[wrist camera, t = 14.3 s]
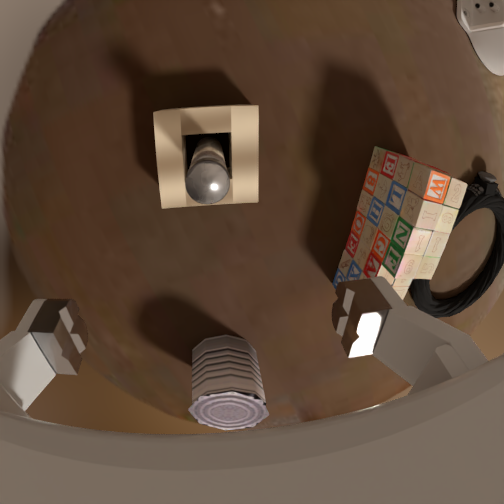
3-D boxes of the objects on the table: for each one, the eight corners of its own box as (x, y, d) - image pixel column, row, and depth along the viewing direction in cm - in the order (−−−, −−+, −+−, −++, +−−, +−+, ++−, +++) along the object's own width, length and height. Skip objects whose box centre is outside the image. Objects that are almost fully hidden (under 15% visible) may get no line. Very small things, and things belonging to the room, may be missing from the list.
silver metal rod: (194, 137, 31) (183, 163, 19) (222, 135, 32) (229, 160, 20) (195, 163, 33) (187, 205, 21) (222, 161, 33) (230, 203, 21)
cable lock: (400, 335, 49) (441, 174, 34) (391, 322, 52) (425, 166, 37) (490, 305, 51) (529, 180, 36) (481, 296, 54) (516, 174, 39)
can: (239, 381, 53) (247, 435, 43) (181, 368, 49) (180, 426, 39) (268, 343, 49) (282, 401, 38) (203, 326, 45) (205, 389, 35)
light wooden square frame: (161, 109, 29) (153, 112, 25) (251, 104, 30) (258, 105, 26) (168, 193, 34) (162, 208, 30) (251, 188, 35) (258, 202, 31)
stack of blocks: (364, 285, 45) (400, 337, 35) (330, 283, 44) (363, 340, 34) (409, 155, 36) (469, 184, 25) (373, 144, 34) (433, 169, 24)
